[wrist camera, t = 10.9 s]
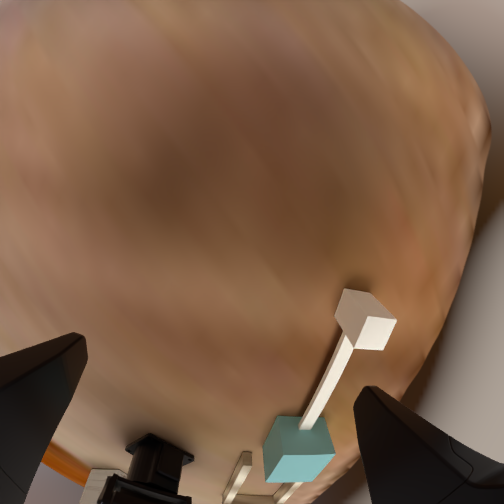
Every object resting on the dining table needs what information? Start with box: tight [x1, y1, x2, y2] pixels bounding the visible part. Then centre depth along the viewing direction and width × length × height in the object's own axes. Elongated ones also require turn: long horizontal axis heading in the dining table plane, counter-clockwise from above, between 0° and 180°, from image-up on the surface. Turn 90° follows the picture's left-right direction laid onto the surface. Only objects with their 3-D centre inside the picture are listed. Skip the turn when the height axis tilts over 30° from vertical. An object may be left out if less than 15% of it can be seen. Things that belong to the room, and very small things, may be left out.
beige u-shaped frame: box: [222, 452, 303, 504], centre depth 26 cm, size 15×9×4 cm, turn 167°
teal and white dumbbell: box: [263, 288, 397, 482], centre depth 20 cm, size 20×5×5 cm, turn 167°
